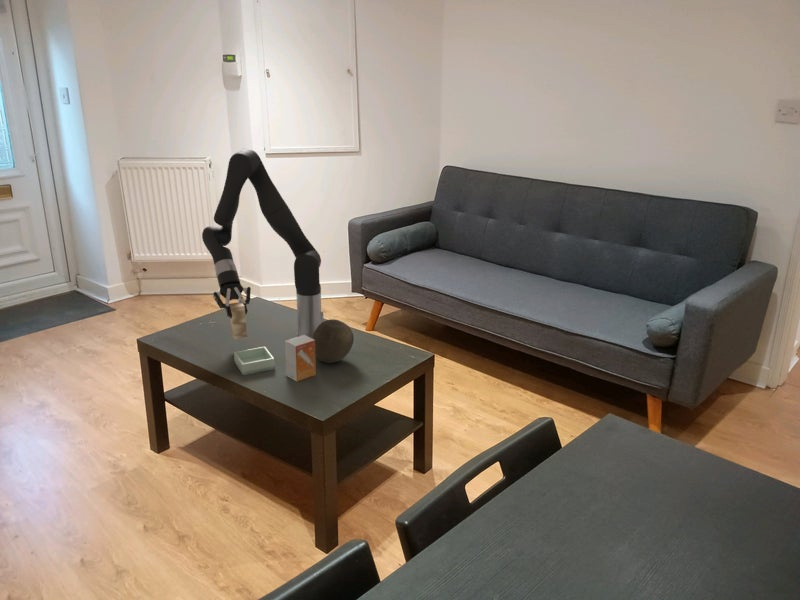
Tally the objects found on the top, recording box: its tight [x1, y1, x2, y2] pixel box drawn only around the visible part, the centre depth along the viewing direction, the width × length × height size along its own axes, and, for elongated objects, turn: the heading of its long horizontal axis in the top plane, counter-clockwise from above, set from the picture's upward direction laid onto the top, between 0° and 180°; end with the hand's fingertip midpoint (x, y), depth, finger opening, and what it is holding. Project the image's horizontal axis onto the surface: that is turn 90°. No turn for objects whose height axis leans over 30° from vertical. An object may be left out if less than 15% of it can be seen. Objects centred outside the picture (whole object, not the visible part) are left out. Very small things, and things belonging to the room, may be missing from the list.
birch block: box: [229, 301, 248, 340], centre depth 241 cm, size 4×4×12 cm
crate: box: [233, 346, 276, 376], centre depth 231 cm, size 11×11×4 cm
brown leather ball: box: [312, 319, 355, 364], centre depth 234 cm, size 14×14×15 cm
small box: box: [284, 335, 317, 383], centre depth 224 cm, size 8×6×13 cm
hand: (238, 315), depth 240 cm, fingers closed on birch block, 4 cm apart
